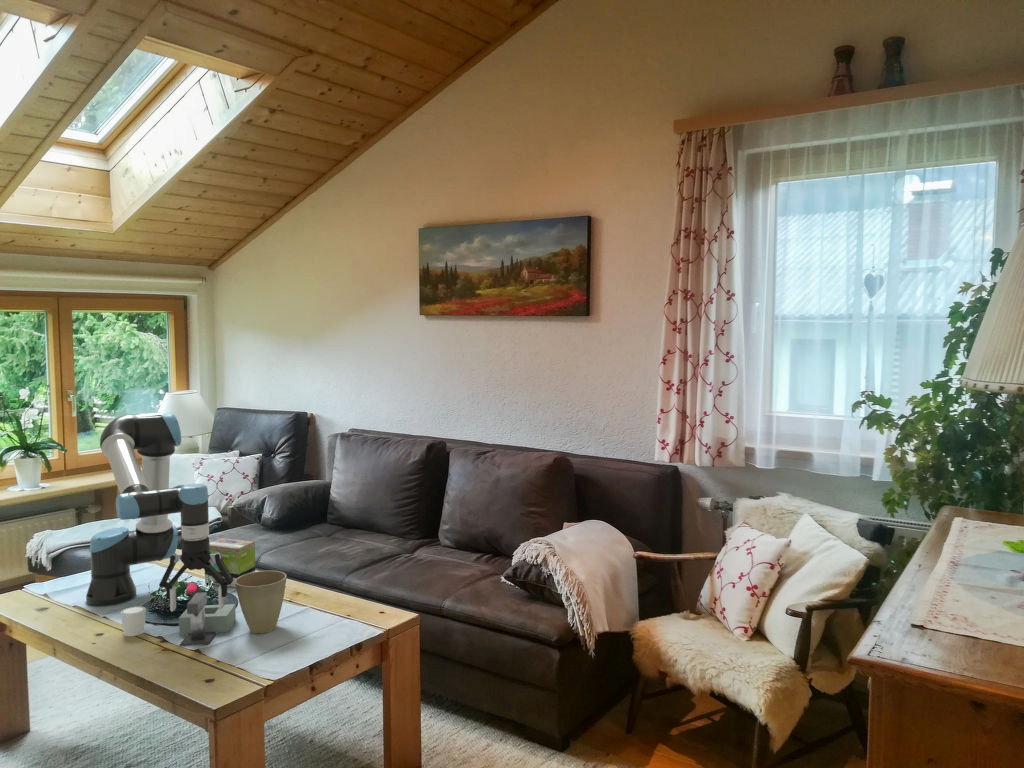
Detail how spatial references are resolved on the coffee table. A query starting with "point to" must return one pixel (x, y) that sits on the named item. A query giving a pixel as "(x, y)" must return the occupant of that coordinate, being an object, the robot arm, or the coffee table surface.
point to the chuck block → (211, 619)
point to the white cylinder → (133, 620)
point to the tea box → (233, 557)
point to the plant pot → (261, 599)
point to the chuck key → (197, 615)
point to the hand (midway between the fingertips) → (197, 608)
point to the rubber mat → (205, 641)
